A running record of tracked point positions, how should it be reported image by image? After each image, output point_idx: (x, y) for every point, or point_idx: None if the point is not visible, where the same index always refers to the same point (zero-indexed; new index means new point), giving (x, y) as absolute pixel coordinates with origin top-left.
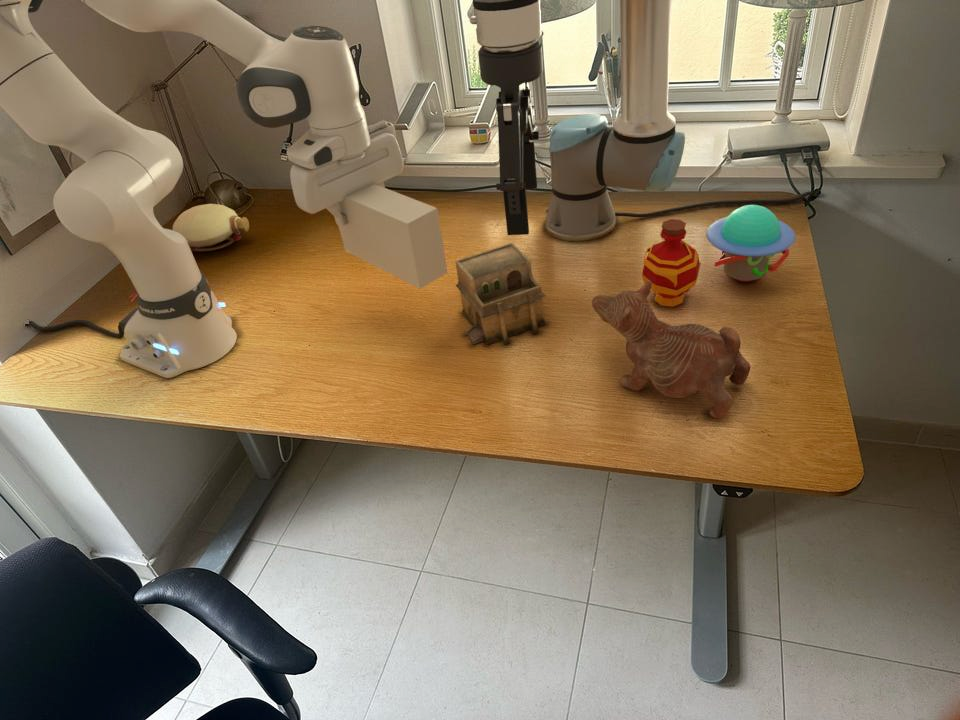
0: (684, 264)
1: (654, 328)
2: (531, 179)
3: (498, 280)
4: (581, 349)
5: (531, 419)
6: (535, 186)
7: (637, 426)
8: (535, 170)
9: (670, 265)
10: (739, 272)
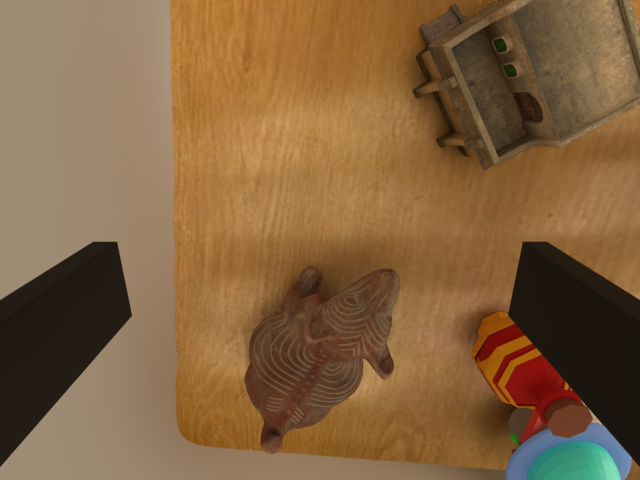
0: (502, 391)
1: (323, 349)
2: (532, 321)
3: (517, 74)
4: (392, 213)
5: (237, 151)
6: (512, 315)
7: (237, 281)
8: (553, 367)
9: (502, 374)
10: (518, 420)
